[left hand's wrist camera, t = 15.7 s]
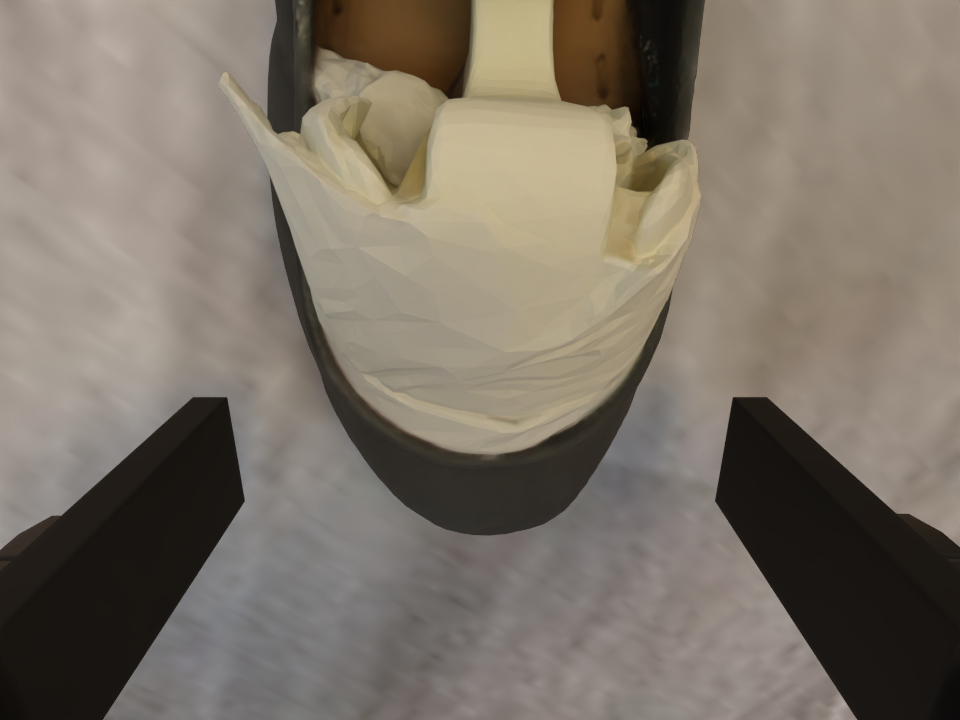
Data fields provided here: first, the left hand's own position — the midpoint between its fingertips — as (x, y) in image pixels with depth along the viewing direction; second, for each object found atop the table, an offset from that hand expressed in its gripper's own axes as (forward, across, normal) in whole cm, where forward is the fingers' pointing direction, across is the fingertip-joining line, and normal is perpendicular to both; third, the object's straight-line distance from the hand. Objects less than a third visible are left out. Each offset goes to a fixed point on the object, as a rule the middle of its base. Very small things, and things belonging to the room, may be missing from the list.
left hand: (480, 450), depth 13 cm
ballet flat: (+3, 0, -9) cm, 9 cm away
